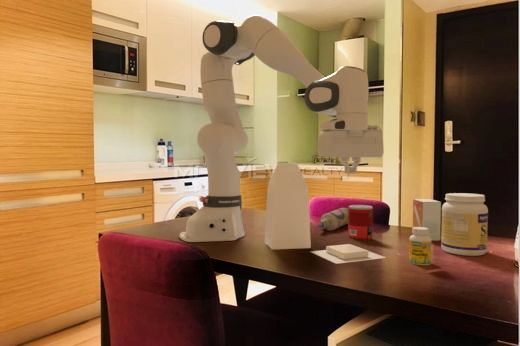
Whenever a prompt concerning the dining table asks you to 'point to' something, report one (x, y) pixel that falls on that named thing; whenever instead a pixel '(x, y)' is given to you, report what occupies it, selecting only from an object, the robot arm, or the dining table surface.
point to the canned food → (360, 222)
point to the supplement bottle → (420, 246)
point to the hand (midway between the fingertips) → (350, 173)
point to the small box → (427, 216)
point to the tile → (347, 251)
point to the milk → (287, 209)
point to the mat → (339, 260)
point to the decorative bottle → (334, 219)
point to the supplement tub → (464, 224)
